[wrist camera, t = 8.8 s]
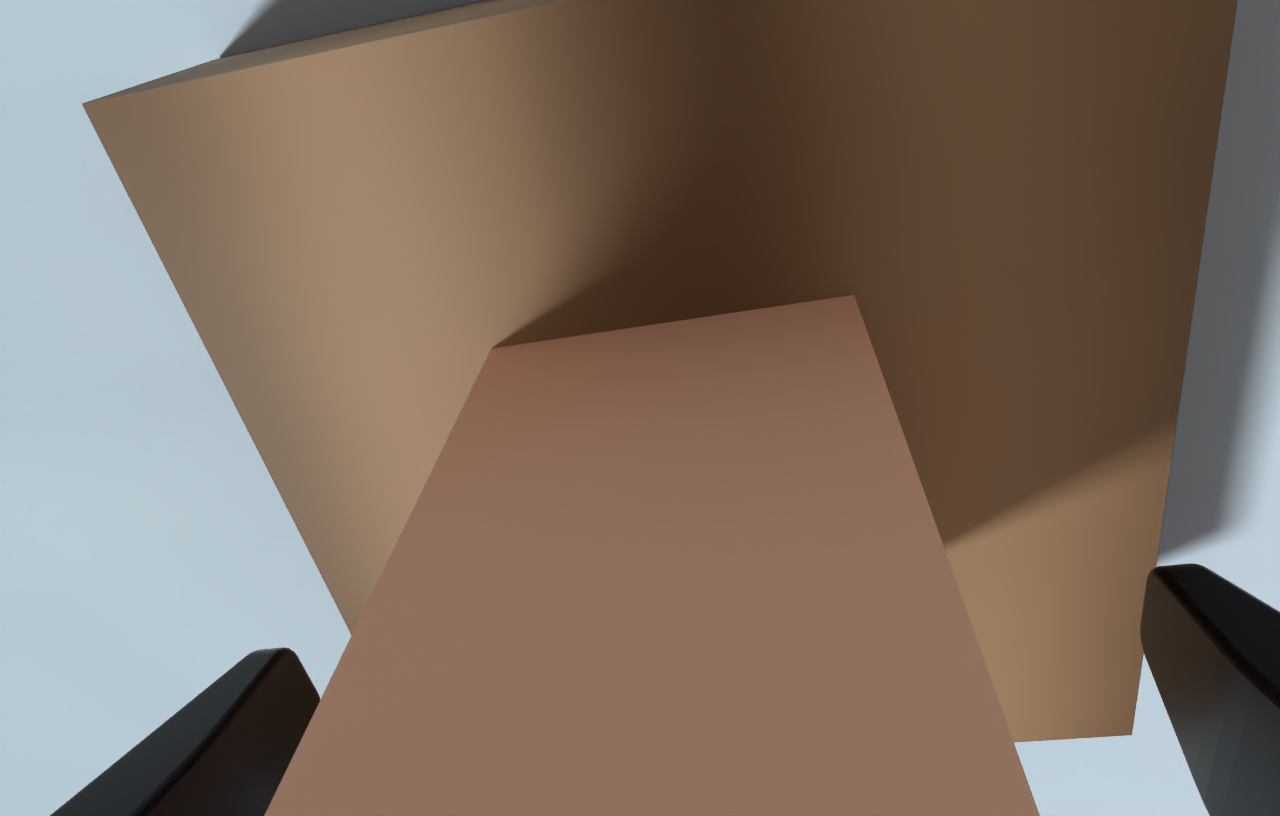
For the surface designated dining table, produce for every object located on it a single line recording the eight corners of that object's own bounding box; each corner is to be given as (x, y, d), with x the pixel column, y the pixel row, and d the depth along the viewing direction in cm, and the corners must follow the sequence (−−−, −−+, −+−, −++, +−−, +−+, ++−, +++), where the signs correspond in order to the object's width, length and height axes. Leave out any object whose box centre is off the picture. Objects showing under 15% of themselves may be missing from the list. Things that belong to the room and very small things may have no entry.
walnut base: (466, 653, 18) (424, 779, 15) (216, 59, 12) (81, 103, 9) (1065, 600, 16) (1131, 735, 14) (1119, -138, 10) (1258, -148, 8)
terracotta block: (573, 608, 13) (456, 1219, 7) (491, 348, 11) (214, 921, 5) (875, 580, 12) (1031, 1236, 6) (853, 295, 10) (1066, 891, 4)
